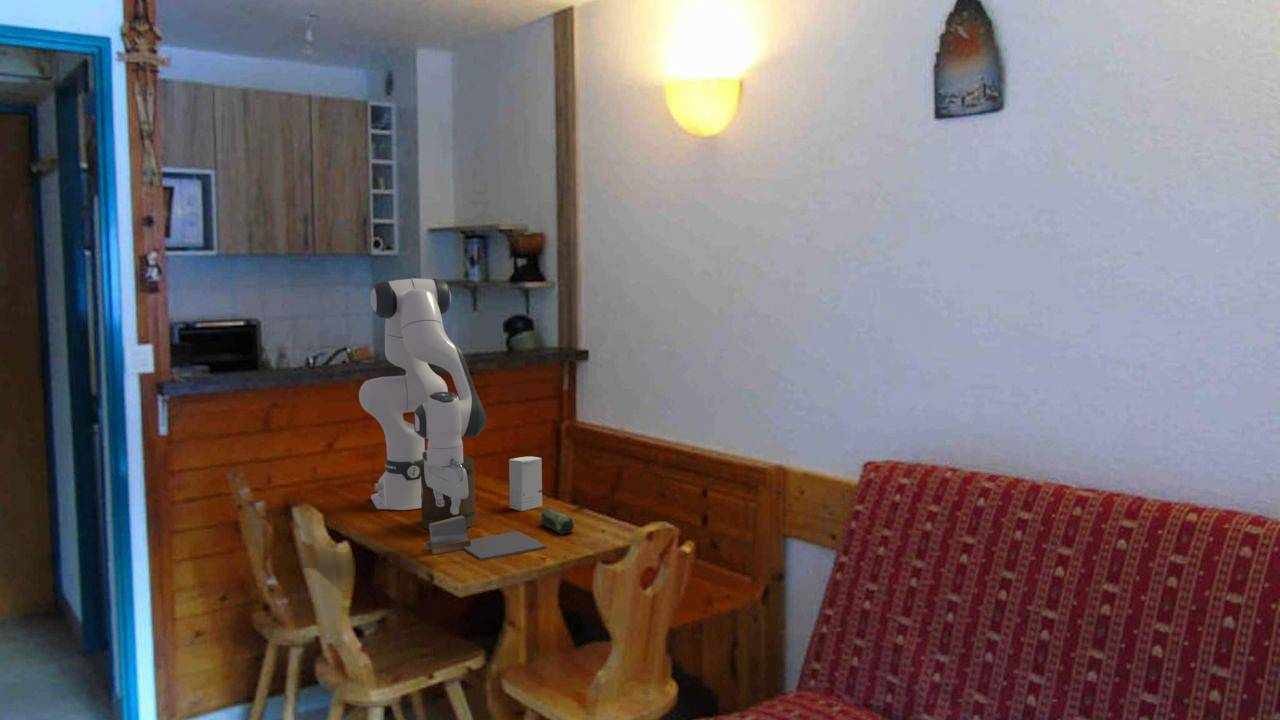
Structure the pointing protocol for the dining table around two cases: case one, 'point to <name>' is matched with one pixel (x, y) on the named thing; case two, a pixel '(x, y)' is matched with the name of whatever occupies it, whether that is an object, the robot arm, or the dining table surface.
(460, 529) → the tile
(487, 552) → the mat
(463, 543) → the holder
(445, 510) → the wooden container
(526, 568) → the dining table surface
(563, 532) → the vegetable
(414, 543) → the dining table surface
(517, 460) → the skincare box
